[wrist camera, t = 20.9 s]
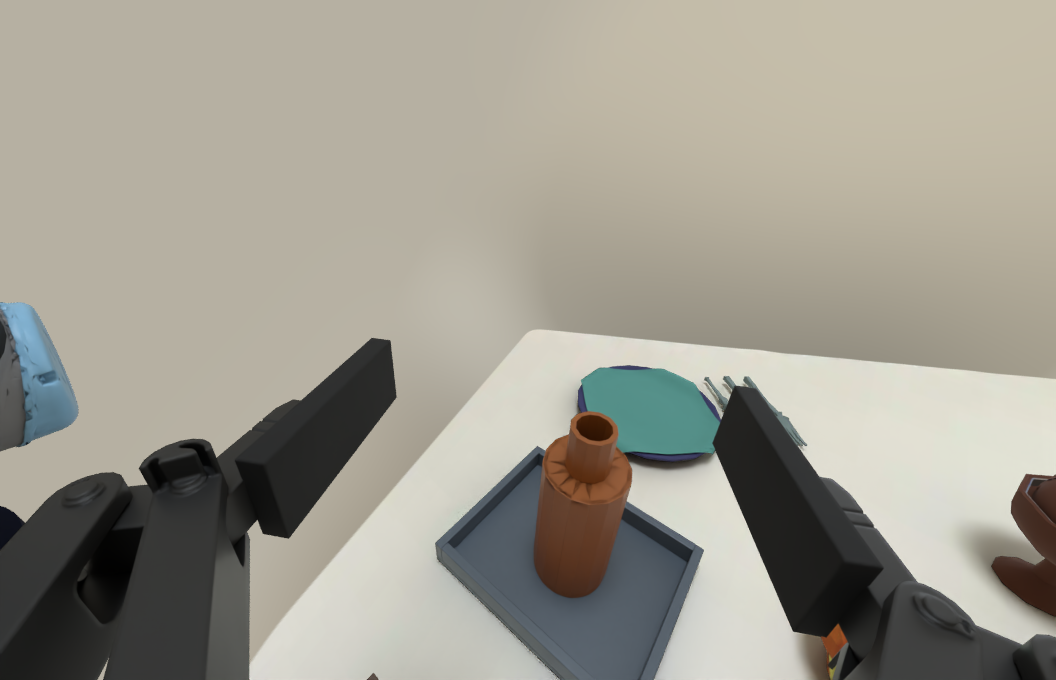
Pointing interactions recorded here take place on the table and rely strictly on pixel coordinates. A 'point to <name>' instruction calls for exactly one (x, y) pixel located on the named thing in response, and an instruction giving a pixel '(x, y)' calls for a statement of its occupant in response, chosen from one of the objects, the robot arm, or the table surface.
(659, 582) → the tray
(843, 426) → the table surface
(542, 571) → the bottle
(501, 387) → the table surface
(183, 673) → the robot arm
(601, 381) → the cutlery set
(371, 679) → the tray
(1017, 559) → the ice cream bowl
